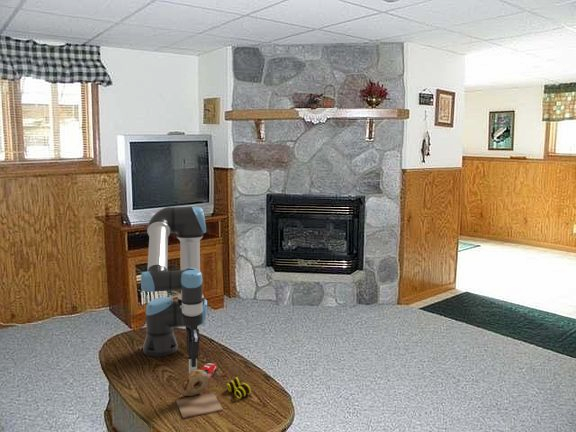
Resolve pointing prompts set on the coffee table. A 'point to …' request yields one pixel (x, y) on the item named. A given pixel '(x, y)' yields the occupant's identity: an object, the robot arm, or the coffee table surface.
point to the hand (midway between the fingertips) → (193, 373)
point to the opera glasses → (238, 388)
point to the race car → (209, 369)
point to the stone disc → (194, 382)
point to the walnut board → (198, 405)
